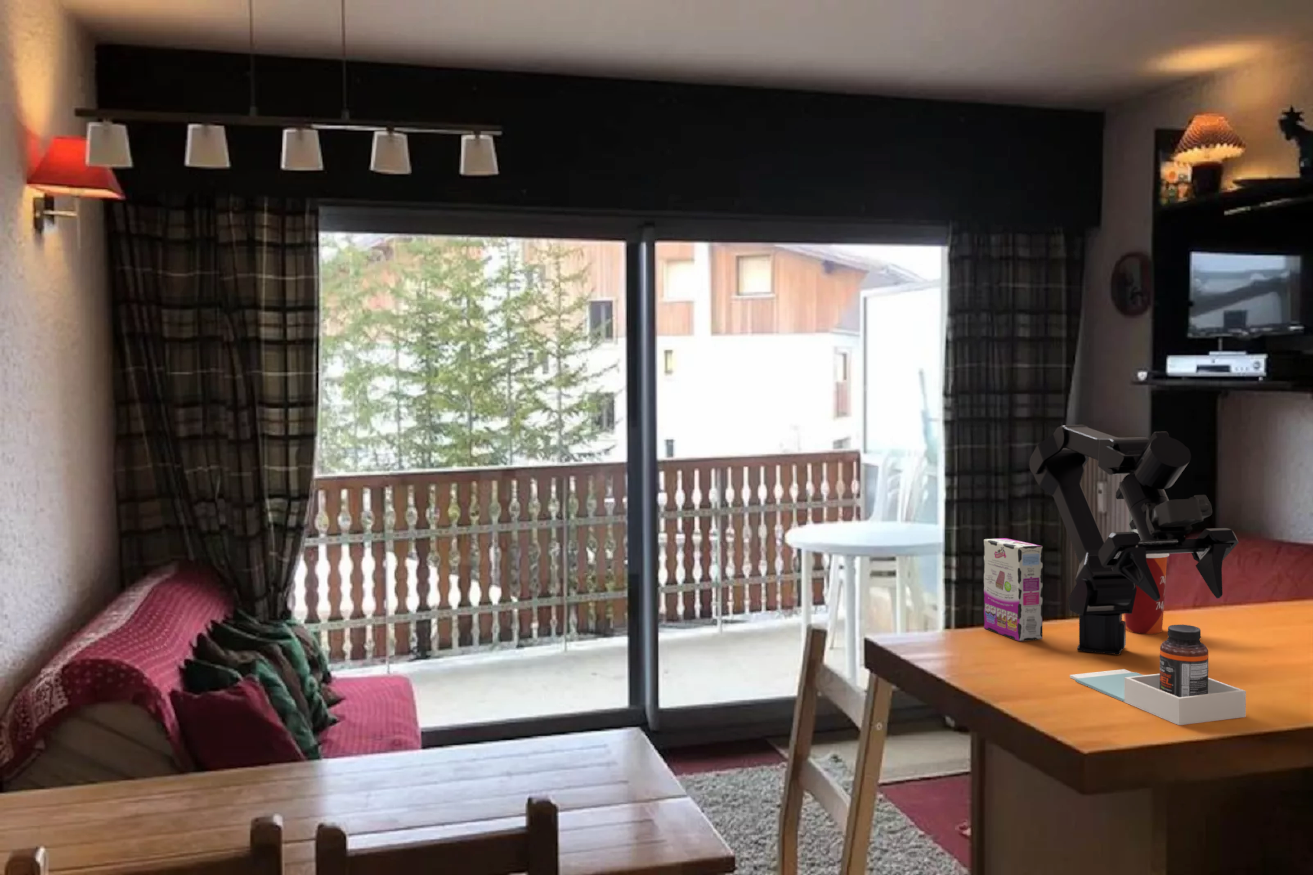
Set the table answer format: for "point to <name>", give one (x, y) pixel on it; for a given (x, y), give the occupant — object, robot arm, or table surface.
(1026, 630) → the candy bar box
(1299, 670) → the table surface
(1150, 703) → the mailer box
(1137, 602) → the coffee cup
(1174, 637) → the supplement bottle
